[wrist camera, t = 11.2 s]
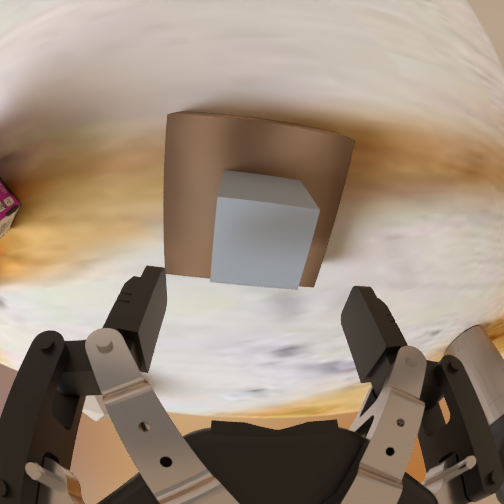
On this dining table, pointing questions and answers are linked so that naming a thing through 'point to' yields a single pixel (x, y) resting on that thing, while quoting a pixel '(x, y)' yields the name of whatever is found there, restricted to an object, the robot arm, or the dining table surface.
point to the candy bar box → (7, 209)
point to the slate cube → (262, 230)
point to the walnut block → (250, 161)
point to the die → (95, 407)
